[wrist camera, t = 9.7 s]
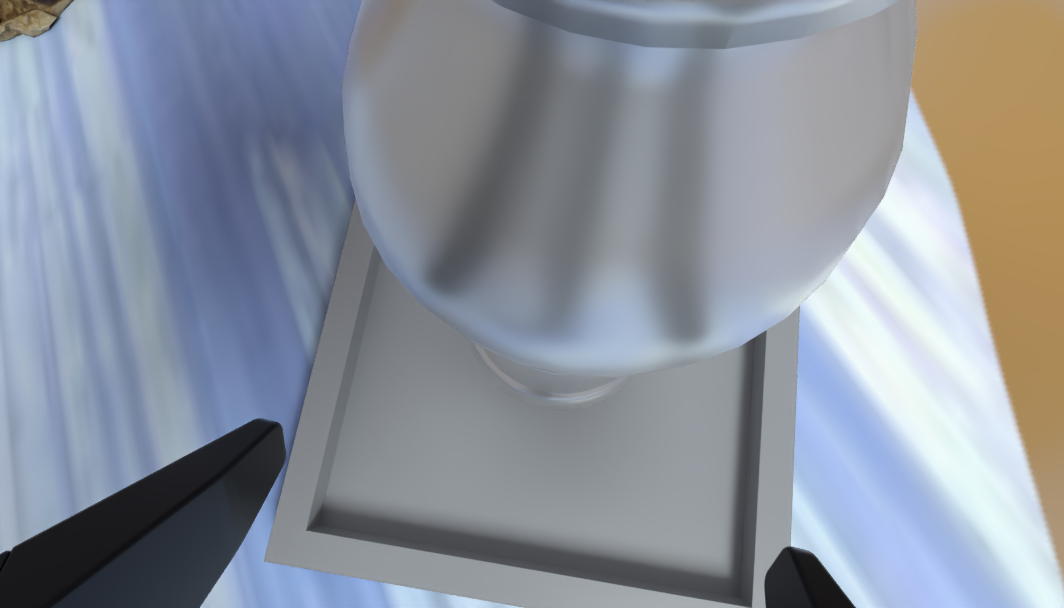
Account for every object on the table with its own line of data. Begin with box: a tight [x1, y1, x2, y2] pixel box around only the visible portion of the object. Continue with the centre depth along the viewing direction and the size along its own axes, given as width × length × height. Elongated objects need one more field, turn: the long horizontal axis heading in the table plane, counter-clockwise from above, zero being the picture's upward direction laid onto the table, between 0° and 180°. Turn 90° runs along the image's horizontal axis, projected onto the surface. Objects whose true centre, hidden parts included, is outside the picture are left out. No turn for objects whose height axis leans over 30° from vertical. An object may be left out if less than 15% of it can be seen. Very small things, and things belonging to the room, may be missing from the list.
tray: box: [264, 198, 800, 608], centre depth 20 cm, size 20×18×2 cm
